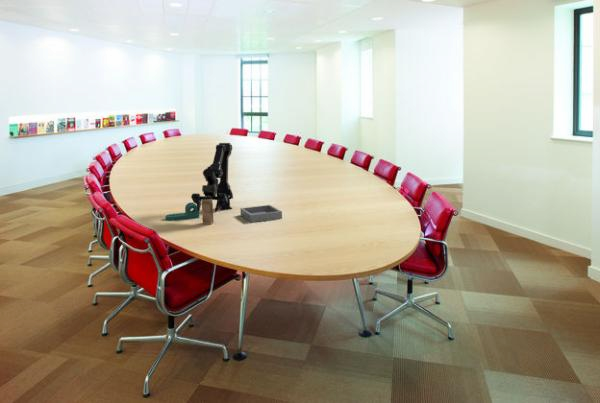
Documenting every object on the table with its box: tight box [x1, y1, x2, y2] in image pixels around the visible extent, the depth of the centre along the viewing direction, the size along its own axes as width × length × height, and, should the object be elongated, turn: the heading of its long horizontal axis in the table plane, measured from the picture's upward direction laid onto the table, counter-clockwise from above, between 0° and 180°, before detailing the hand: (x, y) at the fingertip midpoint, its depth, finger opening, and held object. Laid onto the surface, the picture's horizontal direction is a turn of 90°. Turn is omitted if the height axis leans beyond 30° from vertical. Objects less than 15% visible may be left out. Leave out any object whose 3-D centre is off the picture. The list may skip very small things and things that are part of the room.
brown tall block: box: [201, 199, 215, 226], centre depth 256 cm, size 4×4×13 cm
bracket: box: [164, 201, 200, 222], centre depth 269 cm, size 18×7×8 cm, turn 110°
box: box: [239, 204, 283, 224], centre depth 270 cm, size 18×18×4 cm
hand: (206, 211), depth 255 cm, fingers open, 9 cm apart
